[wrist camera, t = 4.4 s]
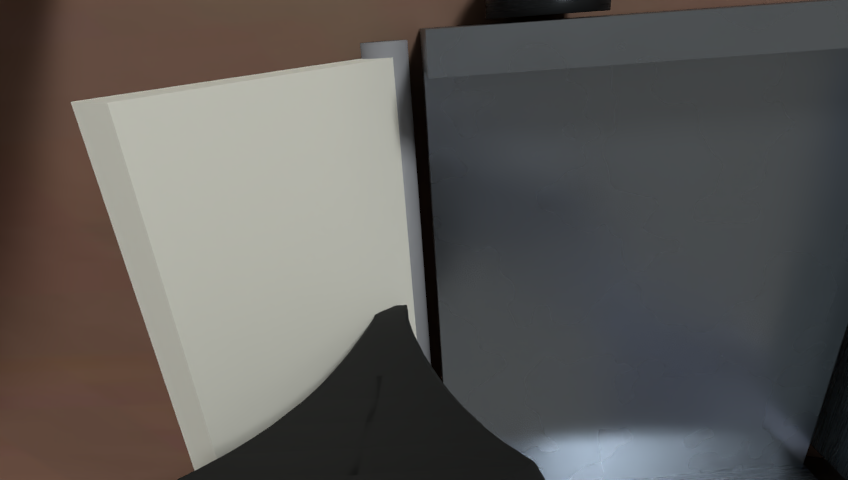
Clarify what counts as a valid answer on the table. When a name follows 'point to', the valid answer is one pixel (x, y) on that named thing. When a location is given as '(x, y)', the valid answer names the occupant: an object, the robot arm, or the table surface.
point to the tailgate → (263, 229)
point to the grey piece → (645, 236)
